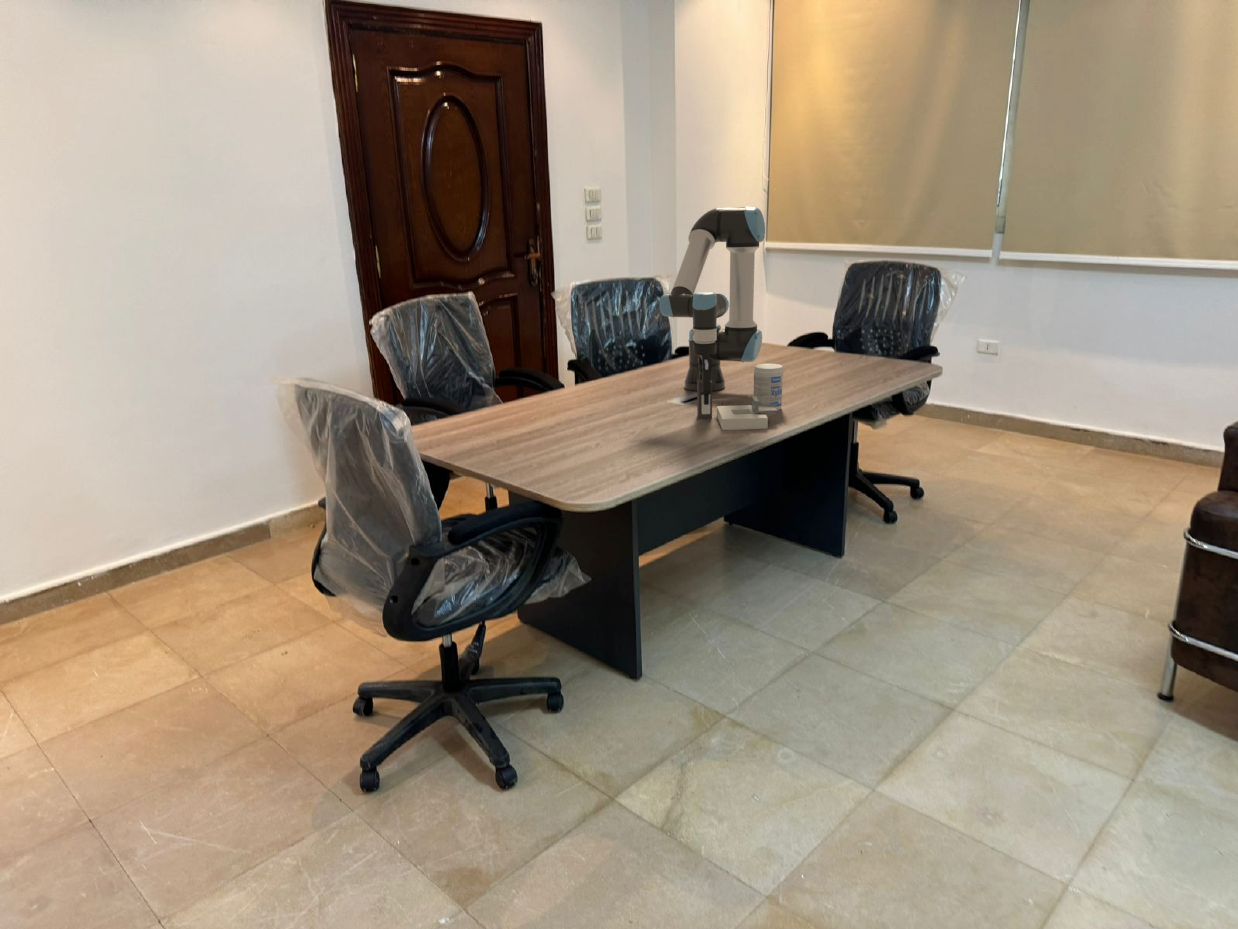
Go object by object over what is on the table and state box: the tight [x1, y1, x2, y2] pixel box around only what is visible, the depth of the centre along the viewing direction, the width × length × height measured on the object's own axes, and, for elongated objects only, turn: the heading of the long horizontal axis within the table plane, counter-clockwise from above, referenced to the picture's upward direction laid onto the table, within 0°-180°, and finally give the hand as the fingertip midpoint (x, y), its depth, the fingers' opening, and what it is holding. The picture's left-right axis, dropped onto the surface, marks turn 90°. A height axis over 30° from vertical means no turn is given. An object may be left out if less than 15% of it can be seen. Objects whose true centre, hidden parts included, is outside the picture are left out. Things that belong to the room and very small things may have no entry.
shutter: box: [751, 396, 778, 414], centre depth 259 cm, size 7×7×4 cm
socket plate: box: [716, 404, 769, 431], centre depth 260 cm, size 16×14×4 cm
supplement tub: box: [752, 363, 784, 411], centre depth 273 cm, size 10×10×15 cm
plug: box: [696, 380, 713, 420], centre depth 266 cm, size 4×4×12 cm
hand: (704, 410), depth 267 cm, fingers open, 8 cm apart
